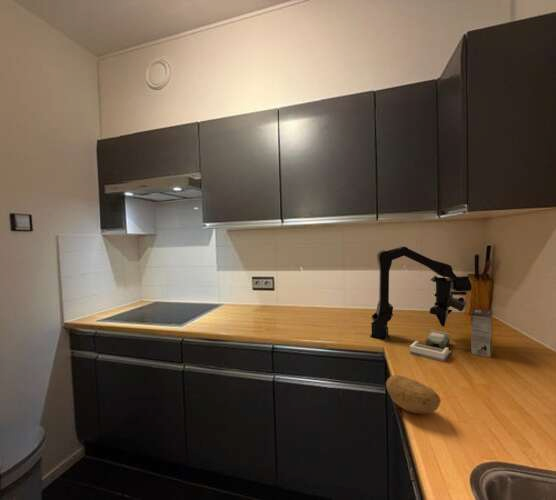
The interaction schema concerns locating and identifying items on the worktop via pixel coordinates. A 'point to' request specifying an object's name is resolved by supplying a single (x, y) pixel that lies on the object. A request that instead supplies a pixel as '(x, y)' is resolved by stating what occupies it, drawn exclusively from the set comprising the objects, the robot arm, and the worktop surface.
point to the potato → (412, 395)
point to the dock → (429, 351)
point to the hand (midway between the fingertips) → (443, 326)
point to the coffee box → (481, 332)
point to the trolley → (438, 339)
